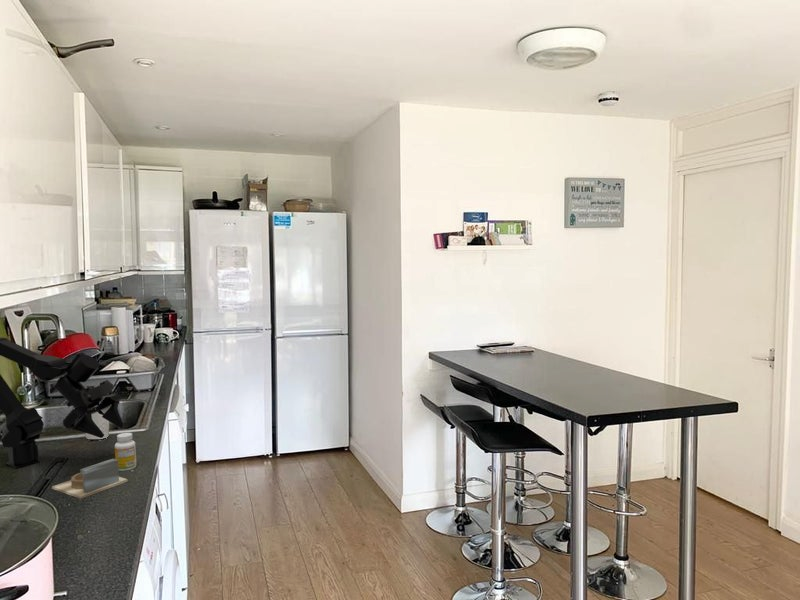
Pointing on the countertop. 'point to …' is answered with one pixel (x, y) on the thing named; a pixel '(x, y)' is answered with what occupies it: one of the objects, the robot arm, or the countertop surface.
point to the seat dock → (92, 480)
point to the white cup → (102, 425)
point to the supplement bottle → (125, 452)
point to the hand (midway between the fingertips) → (113, 431)
